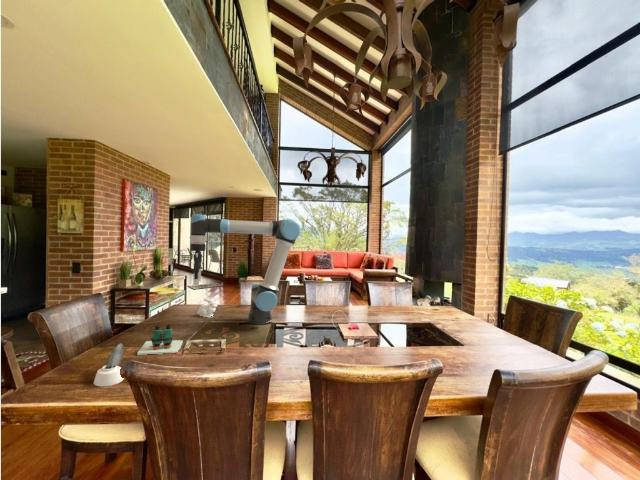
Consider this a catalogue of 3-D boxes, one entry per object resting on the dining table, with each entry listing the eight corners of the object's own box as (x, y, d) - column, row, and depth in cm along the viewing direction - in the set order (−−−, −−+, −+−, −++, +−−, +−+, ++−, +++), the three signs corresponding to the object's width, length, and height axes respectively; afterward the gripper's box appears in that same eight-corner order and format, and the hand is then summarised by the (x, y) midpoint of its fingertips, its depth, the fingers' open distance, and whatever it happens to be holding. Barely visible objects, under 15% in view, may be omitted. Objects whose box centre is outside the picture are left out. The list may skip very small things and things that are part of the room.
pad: (182, 342, 159) (182, 340, 159) (177, 353, 145) (177, 351, 145) (146, 343, 155) (146, 341, 155) (137, 355, 141) (137, 352, 141)
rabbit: (218, 315, 210) (219, 297, 210) (210, 319, 201) (211, 300, 201) (200, 314, 213) (201, 295, 212) (192, 317, 203) (193, 298, 203)
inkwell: (89, 388, 111) (90, 358, 111) (106, 366, 128) (107, 341, 128) (120, 385, 114) (121, 357, 114) (132, 364, 131) (133, 339, 131)
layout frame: (225, 340, 165) (225, 339, 165) (224, 352, 149) (225, 351, 149) (187, 341, 161) (187, 340, 161) (182, 354, 144) (182, 353, 144)
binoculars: (172, 320, 157) (174, 324, 148) (171, 343, 156) (173, 348, 147) (151, 322, 153) (151, 326, 144) (150, 345, 152) (150, 350, 143)
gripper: (192, 242, 187) (191, 279, 188) (188, 244, 163) (187, 287, 164) (206, 242, 189) (205, 279, 190) (204, 244, 165) (203, 287, 166)
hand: (197, 283), depth 177 cm, fingers open, 13 cm apart
